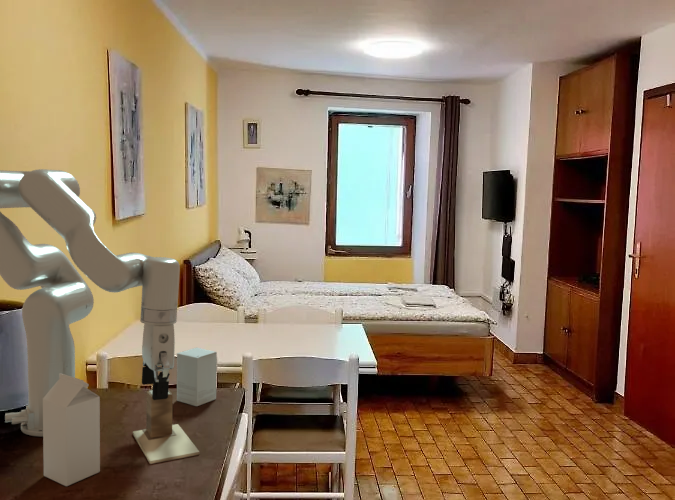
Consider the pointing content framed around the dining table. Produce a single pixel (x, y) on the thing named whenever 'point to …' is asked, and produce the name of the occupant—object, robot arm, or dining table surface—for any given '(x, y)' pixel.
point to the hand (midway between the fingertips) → (154, 391)
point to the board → (165, 445)
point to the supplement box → (196, 376)
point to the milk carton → (71, 431)
